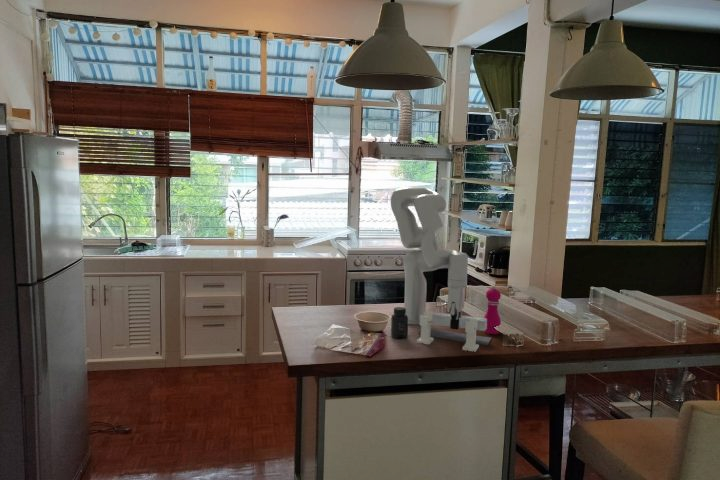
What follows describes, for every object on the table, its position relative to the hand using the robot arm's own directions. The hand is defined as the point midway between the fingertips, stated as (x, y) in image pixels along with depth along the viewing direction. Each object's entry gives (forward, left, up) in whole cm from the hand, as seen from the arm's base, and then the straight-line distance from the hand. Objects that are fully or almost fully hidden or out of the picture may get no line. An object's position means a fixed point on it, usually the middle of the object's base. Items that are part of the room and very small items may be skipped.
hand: (455, 327), depth 221 cm
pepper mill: (+12, +14, -4) cm, 19 cm away
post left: (-9, -11, -4) cm, 15 cm away
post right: (+9, -11, -4) cm, 15 cm away
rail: (0, 0, +1) cm, 1 cm away
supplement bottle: (-20, -11, -4) cm, 23 cm away
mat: (0, 0, -4) cm, 4 cm away
